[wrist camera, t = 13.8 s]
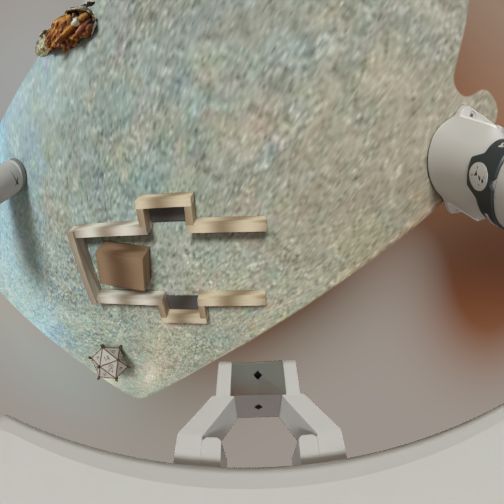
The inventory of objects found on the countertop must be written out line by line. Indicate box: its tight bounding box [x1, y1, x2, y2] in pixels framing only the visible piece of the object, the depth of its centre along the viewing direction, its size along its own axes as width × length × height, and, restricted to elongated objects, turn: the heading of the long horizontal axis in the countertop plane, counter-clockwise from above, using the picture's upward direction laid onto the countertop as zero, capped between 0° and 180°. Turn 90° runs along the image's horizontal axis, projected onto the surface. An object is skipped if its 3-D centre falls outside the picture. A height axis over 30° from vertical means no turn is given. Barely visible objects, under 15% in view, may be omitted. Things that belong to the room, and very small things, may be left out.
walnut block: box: [96, 241, 151, 291], centre depth 43 cm, size 8×6×4 cm
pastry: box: [36, 0, 97, 57], centre depth 24 cm, size 7×12×4 cm, turn 104°
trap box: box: [67, 192, 267, 324], centre depth 43 cm, size 31×22×3 cm
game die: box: [88, 344, 131, 381], centre depth 53 cm, size 9×8×10 cm
